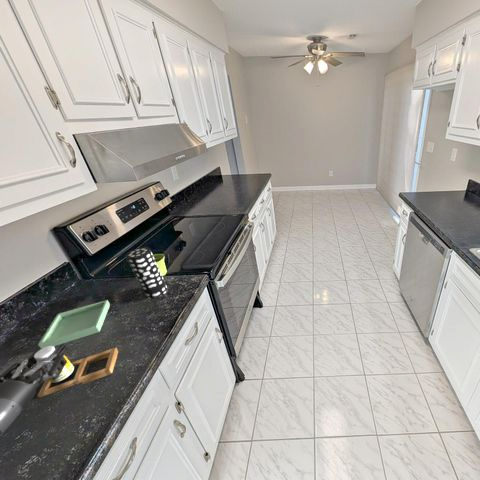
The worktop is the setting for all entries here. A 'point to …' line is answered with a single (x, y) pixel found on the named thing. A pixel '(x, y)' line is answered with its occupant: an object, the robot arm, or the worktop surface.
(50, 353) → the supplement bottle
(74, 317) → the tray
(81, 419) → the worktop surface
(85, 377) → the bottle rack
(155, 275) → the white-spotted black cylinder
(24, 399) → the robot arm
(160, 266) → the plant pot
